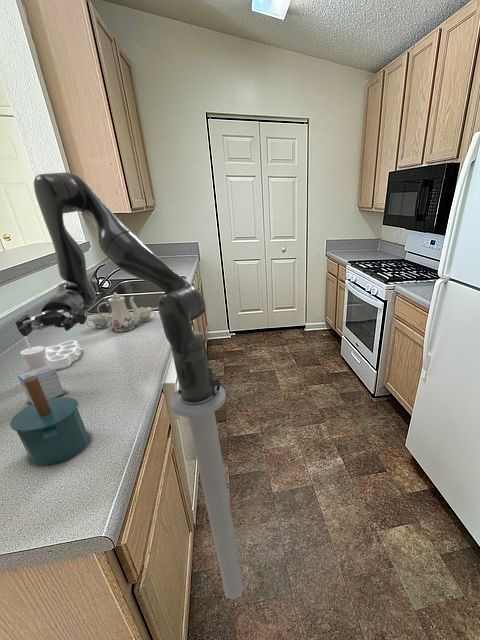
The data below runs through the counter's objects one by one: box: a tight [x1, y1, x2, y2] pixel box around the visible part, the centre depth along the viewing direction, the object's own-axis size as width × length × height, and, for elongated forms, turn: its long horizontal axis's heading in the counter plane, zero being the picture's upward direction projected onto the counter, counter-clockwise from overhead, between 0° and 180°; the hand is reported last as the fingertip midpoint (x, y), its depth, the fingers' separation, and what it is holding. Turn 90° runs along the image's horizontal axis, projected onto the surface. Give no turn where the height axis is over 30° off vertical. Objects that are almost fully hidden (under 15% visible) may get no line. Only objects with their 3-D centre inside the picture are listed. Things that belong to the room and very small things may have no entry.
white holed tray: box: [45, 340, 85, 370], centre depth 120 cm, size 3×18×15 cm
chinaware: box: [86, 291, 157, 333], centre depth 146 cm, size 28×17×17 cm, turn 122°
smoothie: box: [20, 336, 48, 371], centre depth 105 cm, size 6×6×14 cm
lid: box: [9, 377, 79, 432], centre depth 72 cm, size 12×12×10 cm
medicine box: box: [17, 365, 65, 405], centre depth 95 cm, size 8×4×9 cm, turn 145°
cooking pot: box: [16, 407, 90, 466], centre depth 76 cm, size 11×17×10 cm
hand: (45, 329), depth 78 cm, fingers open, 8 cm apart
